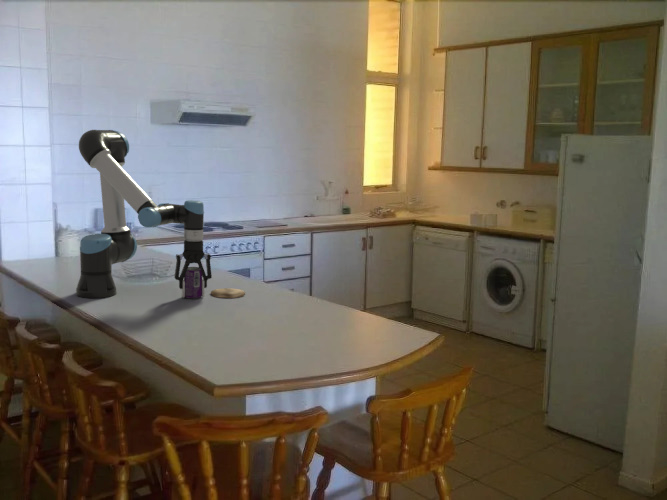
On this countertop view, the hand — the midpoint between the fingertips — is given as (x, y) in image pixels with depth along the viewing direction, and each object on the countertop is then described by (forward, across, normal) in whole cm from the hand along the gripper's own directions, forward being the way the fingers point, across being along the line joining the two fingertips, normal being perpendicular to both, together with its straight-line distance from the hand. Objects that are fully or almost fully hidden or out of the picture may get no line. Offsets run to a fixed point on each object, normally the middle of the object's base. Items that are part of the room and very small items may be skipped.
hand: (192, 296), depth 278 cm
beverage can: (+1, 0, 0) cm, 1 cm away
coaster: (+1, +15, +3) cm, 15 cm away
